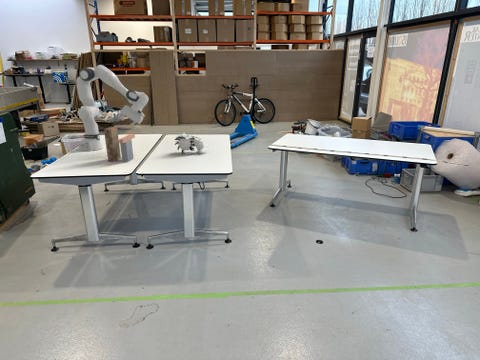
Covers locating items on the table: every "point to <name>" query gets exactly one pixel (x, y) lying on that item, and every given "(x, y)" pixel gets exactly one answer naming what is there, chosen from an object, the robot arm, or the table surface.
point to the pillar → (112, 144)
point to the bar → (126, 138)
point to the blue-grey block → (126, 151)
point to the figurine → (190, 143)
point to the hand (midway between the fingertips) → (126, 122)
